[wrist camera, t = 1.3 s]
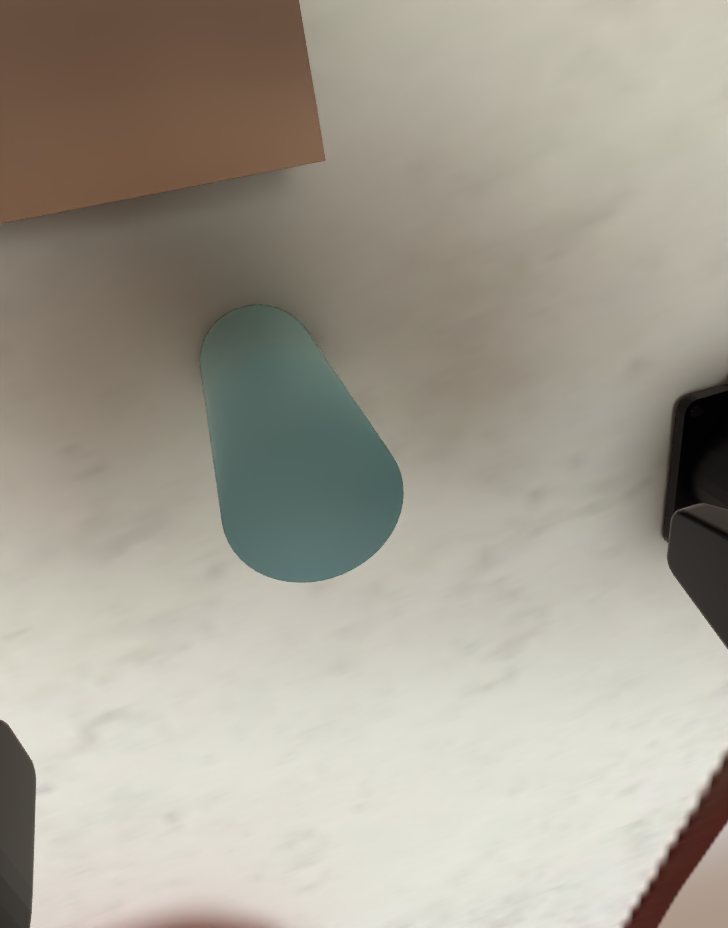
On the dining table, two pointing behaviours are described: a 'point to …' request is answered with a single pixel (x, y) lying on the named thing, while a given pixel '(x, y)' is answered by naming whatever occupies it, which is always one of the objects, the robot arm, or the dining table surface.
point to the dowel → (292, 451)
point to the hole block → (148, 98)
